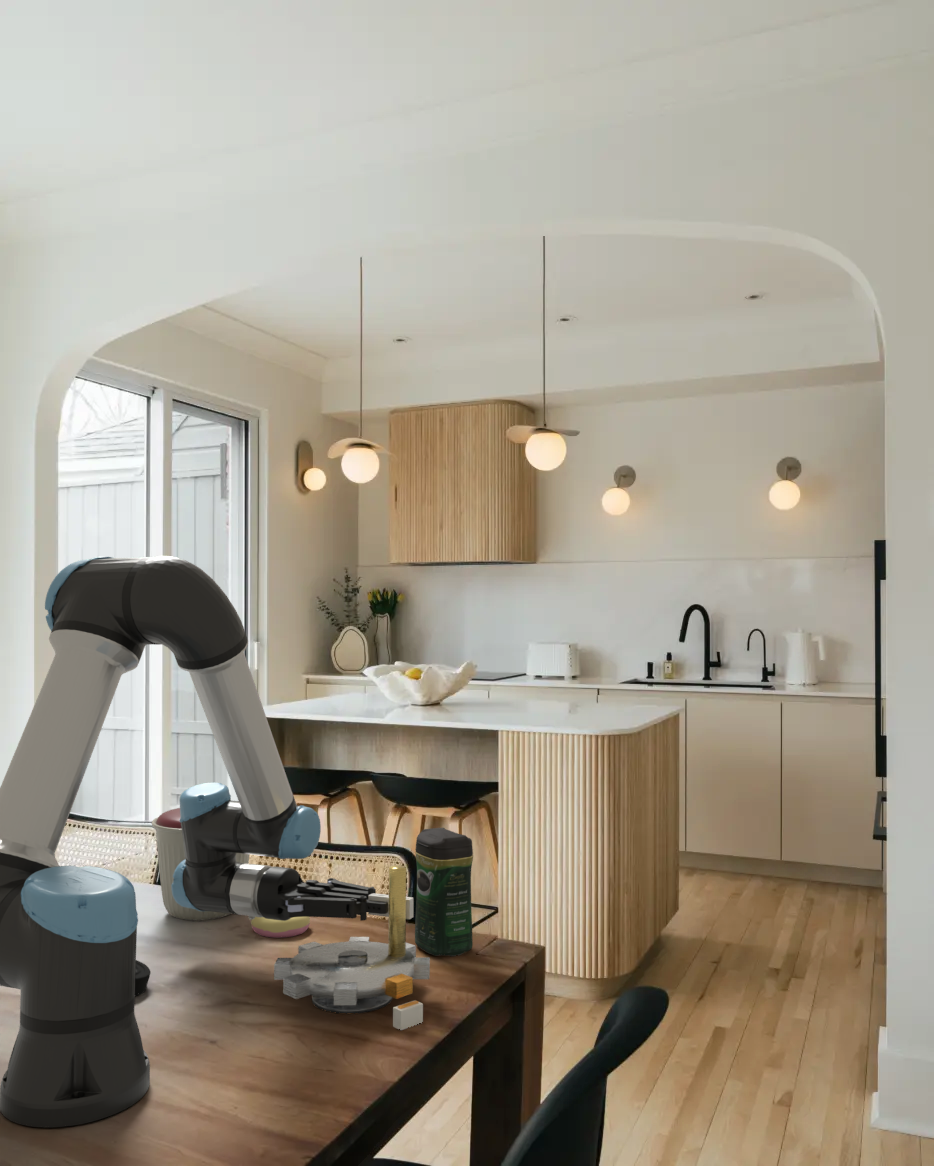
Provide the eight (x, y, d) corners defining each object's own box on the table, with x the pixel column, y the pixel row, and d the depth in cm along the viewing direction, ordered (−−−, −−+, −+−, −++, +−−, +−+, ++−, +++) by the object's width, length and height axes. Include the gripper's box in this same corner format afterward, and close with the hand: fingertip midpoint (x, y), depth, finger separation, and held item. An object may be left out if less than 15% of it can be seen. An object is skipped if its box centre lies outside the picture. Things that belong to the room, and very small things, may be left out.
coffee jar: (480, 953, 154) (481, 833, 154) (436, 961, 150) (436, 838, 150) (450, 936, 162) (451, 822, 163) (407, 943, 158) (408, 827, 159)
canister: (276, 908, 177) (278, 790, 178) (198, 934, 162) (201, 805, 163) (207, 893, 187) (209, 781, 188) (127, 916, 172) (130, 794, 173)
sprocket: (301, 1015, 121) (302, 900, 122) (259, 963, 140) (260, 863, 140) (453, 989, 130) (453, 881, 131) (394, 943, 149) (395, 849, 149)
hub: (369, 1019, 128) (369, 997, 128) (296, 1006, 132) (296, 985, 132) (406, 990, 138) (406, 970, 138) (337, 979, 142) (337, 960, 142)
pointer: (400, 1030, 124) (401, 1009, 124) (393, 1026, 125) (393, 1005, 125) (422, 1022, 126) (422, 1002, 127) (414, 1019, 128) (415, 998, 128)
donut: (275, 956, 159) (321, 935, 165) (274, 930, 158) (321, 909, 164) (240, 933, 165) (286, 913, 172) (239, 907, 165) (285, 889, 171)
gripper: (290, 905, 154) (429, 922, 145) (243, 929, 142) (391, 949, 133) (291, 857, 154) (429, 870, 145) (244, 877, 142) (392, 893, 133)
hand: (411, 908), depth 139 cm, fingers closed
